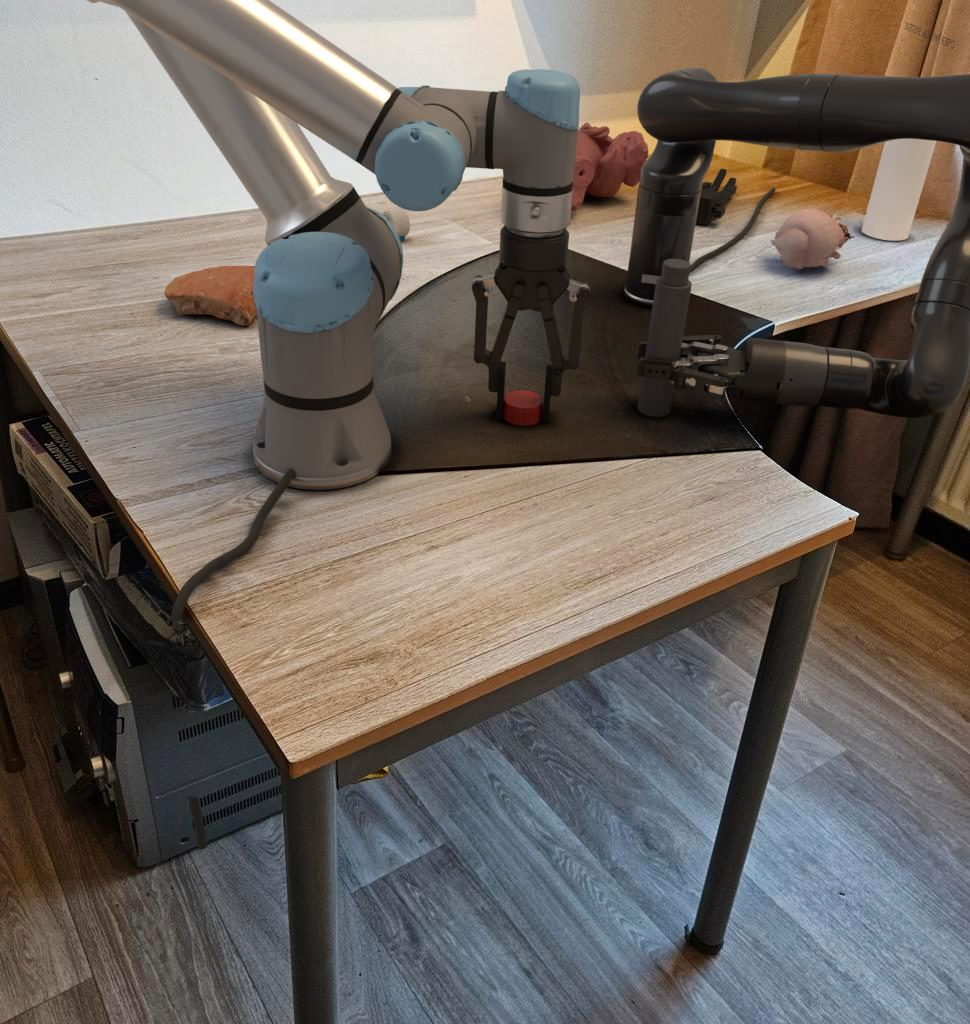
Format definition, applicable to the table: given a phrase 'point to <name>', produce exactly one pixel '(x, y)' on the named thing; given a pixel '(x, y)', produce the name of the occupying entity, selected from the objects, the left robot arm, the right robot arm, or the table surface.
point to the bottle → (665, 333)
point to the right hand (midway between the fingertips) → (639, 358)
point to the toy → (810, 238)
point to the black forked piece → (714, 198)
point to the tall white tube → (898, 184)
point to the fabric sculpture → (606, 162)
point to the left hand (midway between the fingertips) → (522, 415)
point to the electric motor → (398, 222)
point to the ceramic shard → (216, 293)
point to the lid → (522, 408)
